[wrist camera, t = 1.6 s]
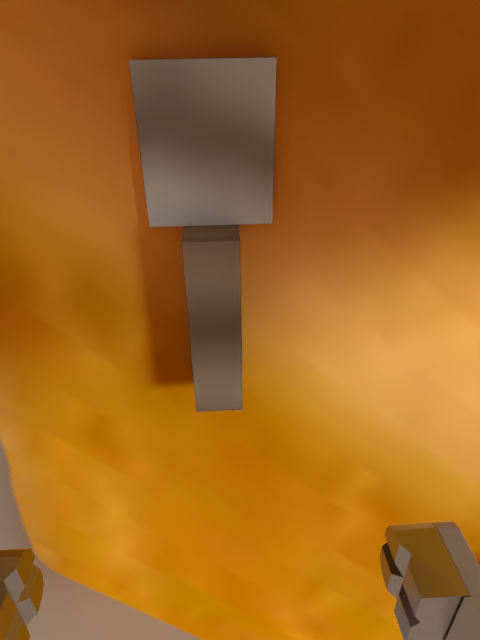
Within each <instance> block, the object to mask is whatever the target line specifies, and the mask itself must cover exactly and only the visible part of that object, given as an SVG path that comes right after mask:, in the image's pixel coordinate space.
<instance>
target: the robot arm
mask: <svg viewBox="0 0 480 640" xmlns="http://www.w3.org/2000/svg"><path fill="white" fill-rule="evenodd" d="M385 537H386V540H387V543H386V544H384V545H383V546H382V548H381V554H380V561H381V570H382V574H383V579H384V582H385V585H386V588H387V590H388V591H389V592H390V593H391V594H392V595H393V596H394V597H395V598H396V599H397V602H396V606H395V609H394V612H395V615H396V618H397V621H398V624H399V627H400V629H401V632H402V635H403V638H404V640H480V565H479V563H478V562H477V560H476V558H475V556H474V554H473V552H472V551H471V549H470V547H469V545H468V543H467V541H466V540H465V538H464V536H463V534H462V532H461V530H460V528H459V527H458V526H457V525H456V524H455V523H454V522H451V521H448V522H435V523H430V522H428V523H416V524H404V525H391V526H388V527H387V528H386V532H385ZM34 558H35V556H34V554H33V552H32V550H31V548H28V549H10V550H0V640H29V639H30V634H29V631H28V628H27V624H28V623H29V622H30V621H31V620H32V619H33V618H34V617H35V616H36V615H37V613H38V610H39V606H40V603H41V600H42V593H43V585H44V584H43V575H42V572H41V570H40V568H38V567H37V566H35V565H33V561H34Z"/></svg>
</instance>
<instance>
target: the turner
mask: <svg viewBox="0 0 480 640" xmlns="http://www.w3.org/2000/svg"><path fill="white" fill-rule="evenodd" d="M129 66H130V74H131V82H132V90H133V98H134V107H135V115H136V123H137V131H138V139H139V147H140V155H141V163H142V171H143V179H144V187H145V195H146V203H147V211H148V219H149V227H174V226H185V227H184V232H183V237H182V253H183V264H184V276H185V287H186V299H187V310H188V322H189V333H190V345H191V356H192V368H193V379H194V391H195V402H196V412H197V411H220V410H243V404H242V339H241V273H240V237H239V229H238V225H241V224H272V222H273V180H274V139H275V97H276V57H271V58H212V59H153V60H129Z"/></svg>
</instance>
